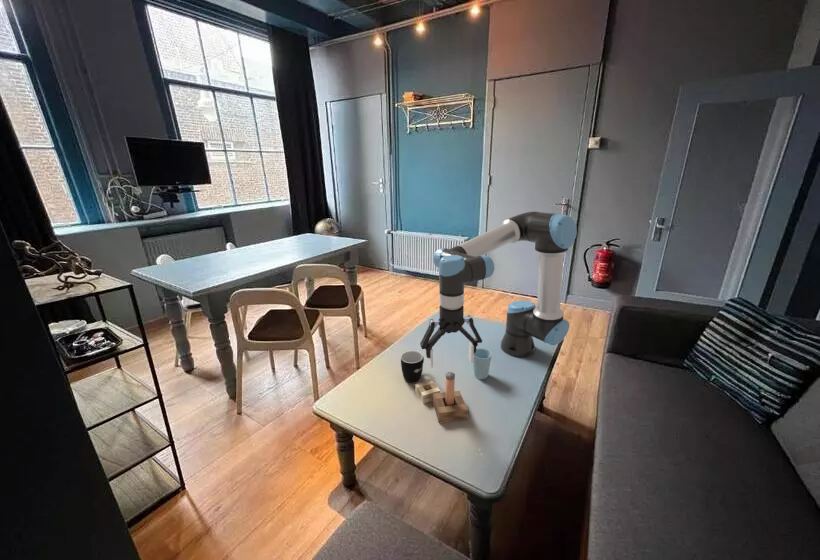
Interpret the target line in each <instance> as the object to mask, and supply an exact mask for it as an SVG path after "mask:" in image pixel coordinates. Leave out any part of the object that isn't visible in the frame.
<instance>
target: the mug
mask: <svg viewBox="0 0 820 560" xmlns="http://www.w3.org/2000/svg"><path fill="white" fill-rule="evenodd" d="M424 361H425V358H424V355H423V353H421V352H420V351H417V350H410V351H405V352H403V353H401V355H400V366H401V372H402V377H403V379H404V381H406V382H407V383H410V384H414V383H417V382H419V381H420V379H421V378H422V374H423V366H424V363H425V362H424Z"/></svg>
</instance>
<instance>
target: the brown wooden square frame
mask: <svg viewBox="0 0 820 560" xmlns="http://www.w3.org/2000/svg"><path fill="white" fill-rule="evenodd" d="M445 394H446V391H444V392H440V393H435V394H433V401H432V406H433V409H434V411H435V415H436V419H437V422H438V423H447V422H448V423H449V422H457V421H463V420H468V416H469V415H468V414H469V409H468V406H467V404H466V402H465V400H464V398H463V396H462V394H461V391H460V390H454V405H453V406H445Z"/></svg>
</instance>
